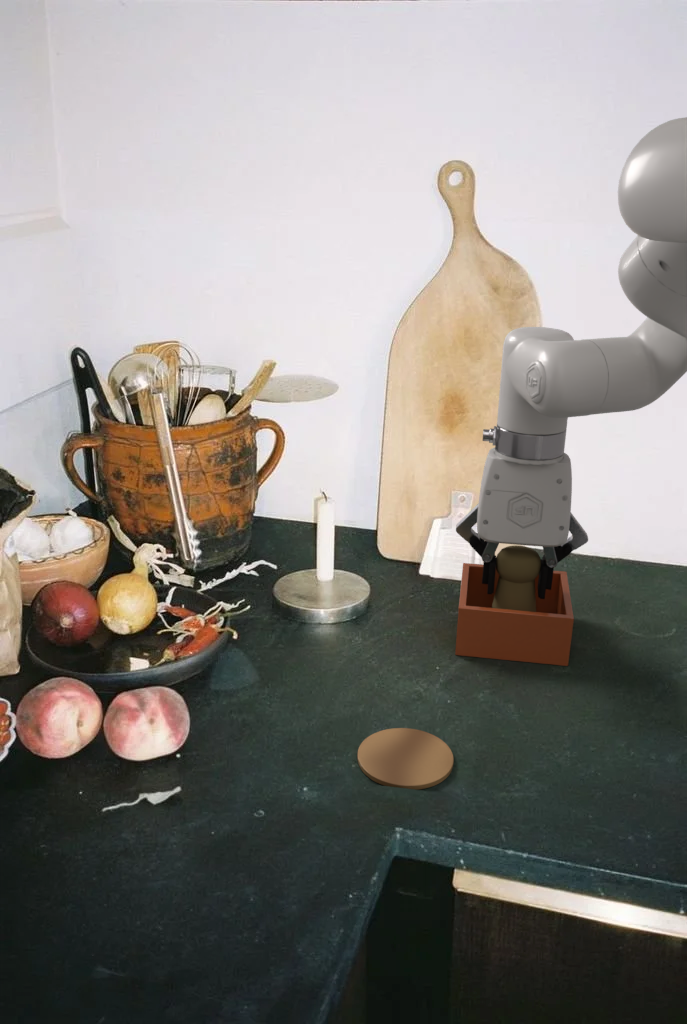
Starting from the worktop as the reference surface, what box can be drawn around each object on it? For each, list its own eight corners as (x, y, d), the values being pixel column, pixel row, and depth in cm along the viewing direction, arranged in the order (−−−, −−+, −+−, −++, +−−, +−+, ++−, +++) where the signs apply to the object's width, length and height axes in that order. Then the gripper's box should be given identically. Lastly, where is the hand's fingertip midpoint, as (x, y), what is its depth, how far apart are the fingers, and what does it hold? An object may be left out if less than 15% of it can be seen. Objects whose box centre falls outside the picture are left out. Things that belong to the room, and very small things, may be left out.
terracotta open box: (561, 615, 116) (566, 571, 114) (568, 666, 105) (574, 618, 103) (459, 606, 118) (463, 562, 116) (455, 655, 107) (458, 608, 104)
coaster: (455, 737, 92) (455, 733, 91) (450, 795, 83) (451, 791, 83) (364, 727, 93) (364, 723, 93) (350, 783, 84) (350, 779, 84)
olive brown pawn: (545, 632, 112) (554, 547, 108) (524, 652, 107) (533, 564, 103) (499, 618, 115) (506, 535, 111) (477, 637, 111) (484, 551, 107)
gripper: (450, 447, 101) (440, 599, 107) (613, 457, 98) (593, 612, 105) (453, 428, 108) (444, 572, 114) (606, 438, 105) (587, 584, 112)
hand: (515, 590), depth 109 cm, fingers closed on olive brown pawn, 5 cm apart
